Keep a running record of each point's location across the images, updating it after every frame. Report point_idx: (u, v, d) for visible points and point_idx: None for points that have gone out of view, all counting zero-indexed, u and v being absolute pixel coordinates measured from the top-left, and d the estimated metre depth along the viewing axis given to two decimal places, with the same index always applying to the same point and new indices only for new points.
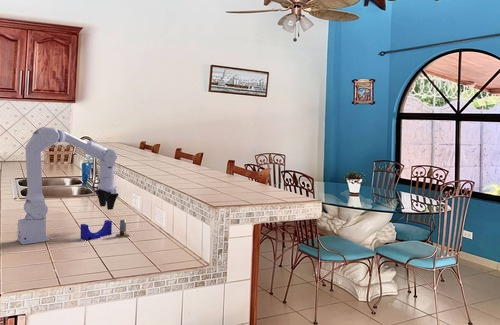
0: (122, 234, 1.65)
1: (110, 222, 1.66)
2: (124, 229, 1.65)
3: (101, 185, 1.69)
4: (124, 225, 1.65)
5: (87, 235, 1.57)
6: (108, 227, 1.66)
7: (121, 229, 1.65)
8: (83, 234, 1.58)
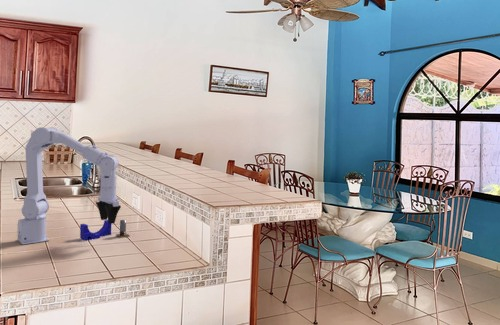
0: (122, 234, 1.65)
1: None
2: (124, 229, 1.65)
3: (102, 196, 1.52)
4: (124, 225, 1.65)
5: (87, 235, 1.57)
6: (108, 227, 1.66)
7: (121, 229, 1.65)
8: (82, 234, 1.58)
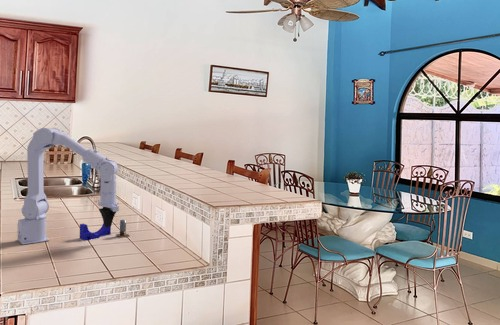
0: (122, 234, 1.65)
1: None
2: (124, 229, 1.65)
3: (102, 202, 1.52)
4: (124, 225, 1.65)
5: (86, 235, 1.57)
6: (107, 227, 1.66)
7: (121, 229, 1.65)
8: (82, 234, 1.58)
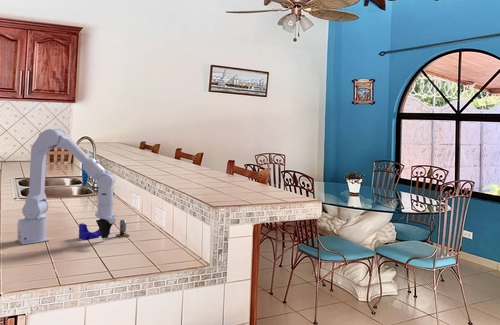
0: (122, 234, 1.65)
1: None
2: (124, 229, 1.65)
3: (99, 213, 1.54)
4: (124, 225, 1.65)
5: (86, 235, 1.58)
6: None
7: (121, 229, 1.65)
8: (81, 233, 1.59)
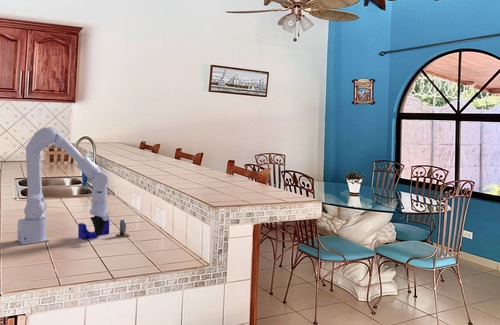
0: (122, 234, 1.65)
1: (108, 221, 1.67)
2: (124, 229, 1.65)
3: (93, 211, 1.58)
4: (124, 225, 1.65)
5: (85, 234, 1.58)
6: (106, 226, 1.67)
7: (121, 229, 1.65)
8: (80, 233, 1.59)
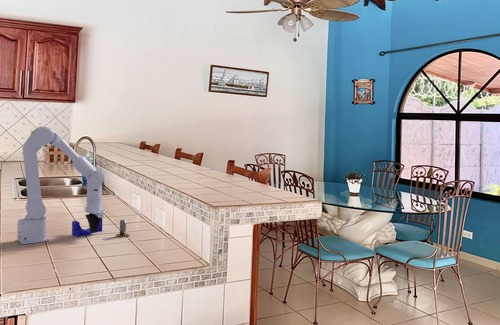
0: (122, 234, 1.65)
1: (101, 219, 1.71)
2: (124, 229, 1.65)
3: (88, 208, 1.62)
4: (124, 225, 1.65)
5: (79, 232, 1.61)
6: (99, 224, 1.70)
7: (121, 229, 1.65)
8: (74, 231, 1.62)
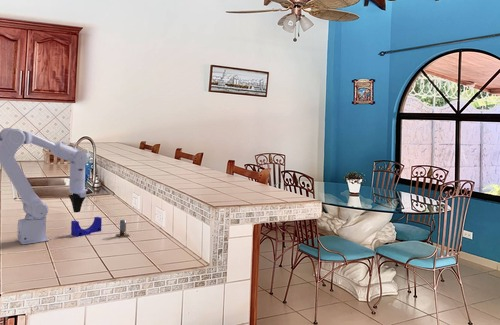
0: (122, 234, 1.65)
1: (100, 219, 1.71)
2: (124, 229, 1.65)
3: (71, 188, 1.62)
4: (124, 225, 1.65)
5: (78, 231, 1.62)
6: (98, 223, 1.70)
7: (121, 229, 1.65)
8: (73, 230, 1.63)
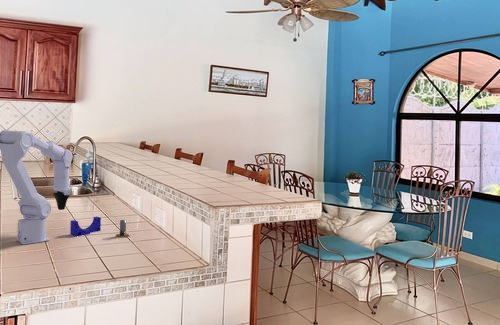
0: (122, 234, 1.65)
1: (99, 218, 1.71)
2: (124, 229, 1.65)
3: (55, 186, 1.64)
4: (124, 225, 1.65)
5: (77, 231, 1.62)
6: (97, 223, 1.71)
7: (121, 229, 1.65)
8: (73, 230, 1.63)
